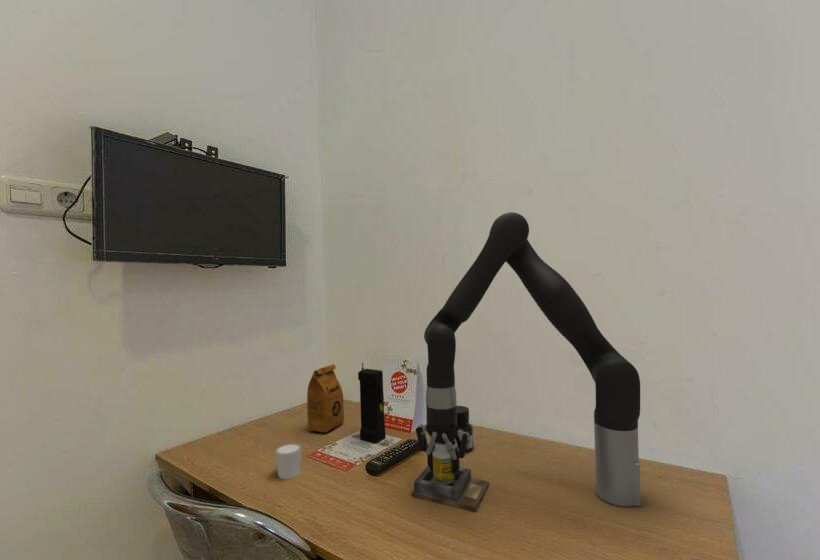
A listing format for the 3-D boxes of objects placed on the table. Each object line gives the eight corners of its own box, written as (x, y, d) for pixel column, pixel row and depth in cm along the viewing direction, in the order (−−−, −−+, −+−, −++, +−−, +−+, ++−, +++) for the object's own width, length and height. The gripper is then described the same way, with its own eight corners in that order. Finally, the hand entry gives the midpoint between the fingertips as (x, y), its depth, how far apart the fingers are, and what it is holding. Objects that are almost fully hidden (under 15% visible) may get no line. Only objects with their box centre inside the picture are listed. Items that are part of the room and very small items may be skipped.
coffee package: (348, 424, 144) (346, 364, 144) (325, 436, 133) (323, 371, 133) (328, 419, 149) (326, 361, 149) (303, 431, 138) (302, 369, 138)
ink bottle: (473, 455, 116) (472, 415, 116) (443, 454, 118) (442, 414, 118) (473, 441, 126) (472, 404, 126) (445, 440, 127) (444, 403, 127)
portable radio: (389, 437, 131) (387, 362, 130) (378, 444, 126) (376, 366, 125) (370, 433, 135) (368, 360, 135) (359, 439, 130) (357, 364, 130)
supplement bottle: (445, 472, 102) (444, 435, 102) (459, 481, 98) (458, 442, 97) (428, 478, 99) (427, 440, 99) (442, 488, 95) (440, 448, 94)
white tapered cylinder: (307, 470, 110) (306, 445, 110) (290, 482, 104) (289, 456, 104) (288, 466, 113) (287, 441, 113) (270, 477, 107) (269, 451, 107)
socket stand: (489, 485, 99) (488, 471, 99) (475, 511, 89) (475, 496, 89) (430, 473, 106) (430, 460, 106) (411, 496, 96) (411, 482, 95)
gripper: (473, 401, 98) (475, 468, 99) (421, 395, 105) (423, 458, 105) (464, 411, 92) (466, 483, 92) (409, 404, 98) (411, 471, 98)
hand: (443, 470), depth 98 cm, fingers closed on supplement bottle, 5 cm apart
